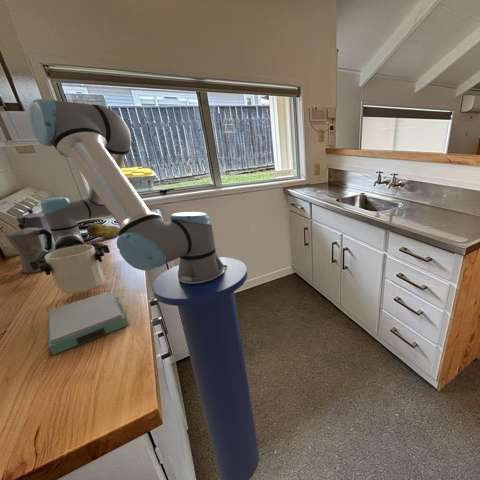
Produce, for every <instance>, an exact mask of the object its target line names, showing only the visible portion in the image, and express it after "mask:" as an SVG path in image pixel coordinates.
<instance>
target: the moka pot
mask: <svg viewBox="0 0 480 480" xmlns="http://www.w3.org/2000/svg"><path fill="white" fill-rule="evenodd" d="M15 219H16V221H17V222H18V225H19V224H25V228H42V229H46V230H47V231H49V232H50V233H51V231H50V227H49V225H48V223H47V220H46V218H45V216H44V214H43V213H38V212H36V213H35V212H34V210H33V209H31V208H30V209H27V214H23V215H19V216H17V217H15ZM51 234H52V233H51ZM43 235H44V241H45V246H44V247H45V248H47V247H48V246H47V239H46V235H45V234H43ZM54 250H55V241H54V238H53V236H52V249H51V250H47V251H48V252H49V253H50V252H53V251H54Z"/></svg>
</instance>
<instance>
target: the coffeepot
mask: <svg viewBox="0 0 480 480" xmlns="http://www.w3.org/2000/svg"><path fill="white" fill-rule="evenodd" d="M17 226H18V227H19V229H15V230H12V231H7V232H5V233H4V236H5V238H6V239H7V240H8V241H9V243H10V244H11V245H12V247H13V248H14V250H15V251H17V252H18V253H19V261H20V265H21V272H22V273H25V274H34V273H39V272H42V271H41V270H40V269H39V268H38V269H37V270H32V267H31V265H30V263H29V262H30V261H32V260H33V259H35V258H36V257H38V256H39V255H40V254H41V252H43V251H46V252H48V251H47V250H51V249H52V237H53V236H52V233H50V232H51V231H50V232H49V231H47V230H46V229H42V228H25V224H19V223H18V224H17ZM43 234H45V235H46V239H47V246H48V247H47V248H45V247H44V246H45V241H44V235H43Z"/></svg>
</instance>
